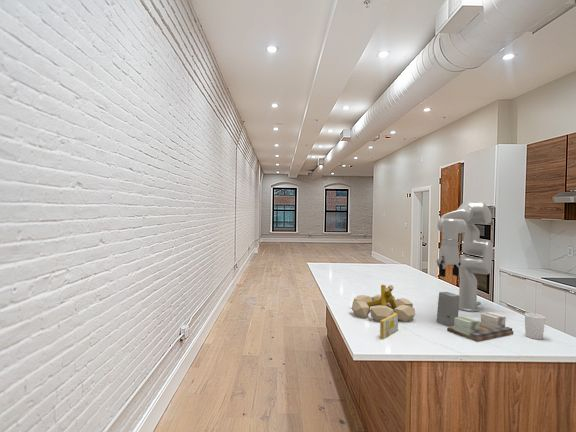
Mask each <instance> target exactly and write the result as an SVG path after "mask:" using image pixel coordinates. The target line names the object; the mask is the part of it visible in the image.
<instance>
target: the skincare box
mask: <svg viewBox="0 0 576 432" xmlns="http://www.w3.org/2000/svg"><path fill="white" fill-rule="evenodd" d="M459 301H460V296H459V294H456V293H453V292H449V291H439V293H438V302H437V312H436V313H437V314H436V322H437V323H439V324H442V325H444V326H448V327H454V318H456V317H459V310H460V309H459Z"/></svg>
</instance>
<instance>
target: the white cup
mask: <svg viewBox="0 0 576 432" xmlns="http://www.w3.org/2000/svg"><path fill="white" fill-rule="evenodd" d="M545 321H546V316H544V315H542V314H537V313H524V330H525V331H524V332H525V336H526V337H527V338H530V339H533V340H534V339H535V340H543V339H544V332H545V324H546V322H545Z"/></svg>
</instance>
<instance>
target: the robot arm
mask: <svg viewBox="0 0 576 432" xmlns="http://www.w3.org/2000/svg"><path fill="white" fill-rule="evenodd" d="M492 218H493V217H492V213H491V210H490V208H489V207H488V205H487V204H486V203H485V202H481V201H467V202H462V203H461V204H460V205H459V207H458V208H457V209H456V210H453V211H450V212H447V213H445V214H443V215H442V216H440V218H439V219H438V221H437V229H438V231H439V232H441V233H442V234H441V237H442V238H441V245H440V247H439V253H438V255H439V256H438V258H437V259H436V263H437V268H438V269H439V271H438V272H439V273H438V274H439V277H444V278H445V277H446V267H447V266H452V276H455V277H459V286H458V287H459V289H458V290H459V291H458V295H459V296H460V301H459V310H461V311H463V310H464V312H472V313H473V312H479V311H480V308H479V307H478V306H480V305H482V302H481V301H477V300H478V299H477V298H478V297H477V296H478V279H477V278H476V276H475V274H478V275H489V274H490V273H491V271H492V266H493V265H492V262H493V254H494V253H493V250H494V248H493V243H492V242H491V240H487V239H480V236H481V235H480V234H481V231H480V229H479V228H478V227H477V226H476V225H488V224H490V223H491V222H492ZM459 234H463V240H462V241H463V243H462V251H463V253H464V254H466V255H469V256H461V257H460V252H459V251H460V249H459ZM470 255H471V256H470ZM476 256H479V257H476ZM480 256H482V257H480Z"/></svg>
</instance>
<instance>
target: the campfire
mask: <svg viewBox="0 0 576 432" xmlns="http://www.w3.org/2000/svg"><path fill="white" fill-rule="evenodd" d="M394 289H395V288H394V286H393V285H392V284H390V285H388V286H386V285H385V284H381V285H380V294H377V295H374V296H370V295H364V294H360V295H357V296H355V297H354V298H353V301H352V305H351V310H352V312H353V313H354V315H355V316H357V317H358V318H361V319H362V318H363V319H364V318H367V317H368V316H369V314H370V317H371V318H372V319H373V320H375V321H376V322H379V323H380V321H381V320H383V319H385V318H387V317H388V316H390V315H392V314H394V313H397V314H398V321H401V322H403V323H404V322H405V323H407V322H411V321H412V320H413V319H414V318H415V315H416V310H415V307H413V306H414V303H413V302H411V301H410V300H409V299H407V298H397V299H396V298H395V296H394V295H393V294H392V291H394Z"/></svg>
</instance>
